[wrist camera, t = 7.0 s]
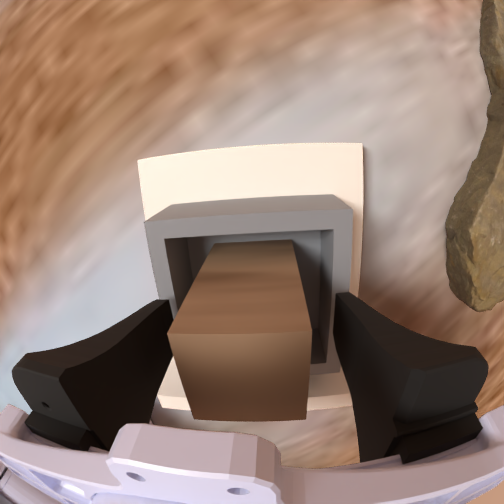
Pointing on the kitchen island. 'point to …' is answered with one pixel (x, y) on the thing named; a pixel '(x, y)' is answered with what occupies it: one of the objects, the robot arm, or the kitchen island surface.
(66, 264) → the kitchen island surface
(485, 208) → the stone slab
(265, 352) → the walnut rail post
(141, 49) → the kitchen island surface
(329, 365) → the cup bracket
